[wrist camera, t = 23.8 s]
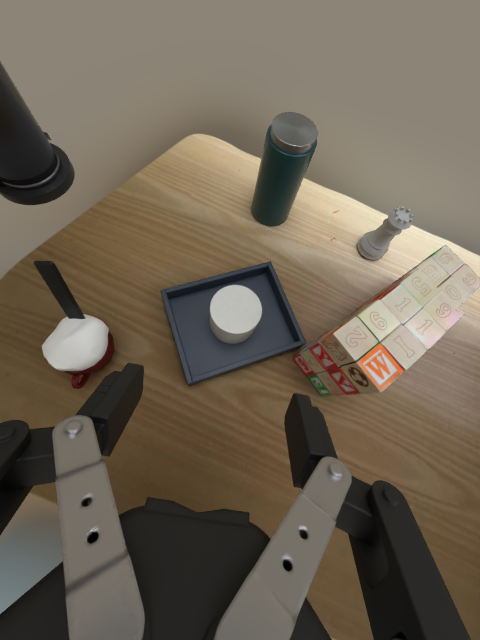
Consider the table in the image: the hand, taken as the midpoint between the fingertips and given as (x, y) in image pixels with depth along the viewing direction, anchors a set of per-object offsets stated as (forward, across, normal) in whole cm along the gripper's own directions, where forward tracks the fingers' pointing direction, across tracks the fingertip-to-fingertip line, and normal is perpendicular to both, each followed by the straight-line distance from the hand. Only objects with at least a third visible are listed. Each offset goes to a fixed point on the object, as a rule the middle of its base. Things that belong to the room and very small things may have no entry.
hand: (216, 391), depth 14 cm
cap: (+20, -1, +6) cm, 21 cm away
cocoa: (+16, +15, +11) cm, 25 cm away
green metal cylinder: (+34, -3, -8) cm, 36 cm away
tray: (+20, -1, +6) cm, 21 cm away
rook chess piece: (+32, -20, -6) cm, 38 cm away
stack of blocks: (+22, -19, +5) cm, 29 cm away
